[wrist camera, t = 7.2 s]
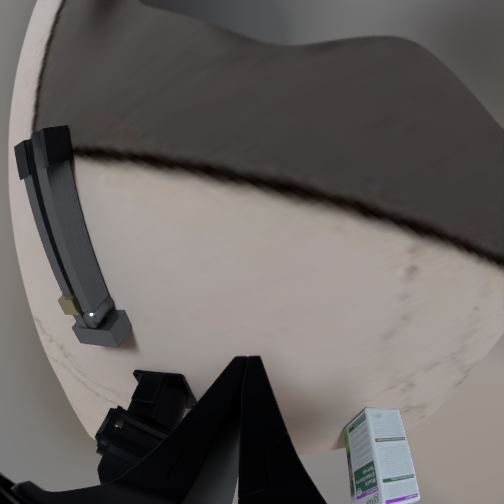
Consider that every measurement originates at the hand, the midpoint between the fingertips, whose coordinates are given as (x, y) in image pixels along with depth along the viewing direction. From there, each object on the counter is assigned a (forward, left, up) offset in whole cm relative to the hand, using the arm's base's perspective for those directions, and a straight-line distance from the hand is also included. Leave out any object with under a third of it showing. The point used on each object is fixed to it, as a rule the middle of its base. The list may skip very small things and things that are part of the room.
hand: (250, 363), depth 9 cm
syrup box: (-27, -11, -12) cm, 32 cm away
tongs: (+2, +17, -12) cm, 21 cm away
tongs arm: (+3, +16, -12) cm, 20 cm away
